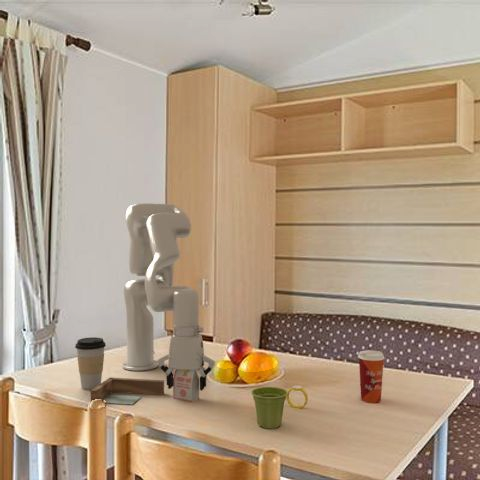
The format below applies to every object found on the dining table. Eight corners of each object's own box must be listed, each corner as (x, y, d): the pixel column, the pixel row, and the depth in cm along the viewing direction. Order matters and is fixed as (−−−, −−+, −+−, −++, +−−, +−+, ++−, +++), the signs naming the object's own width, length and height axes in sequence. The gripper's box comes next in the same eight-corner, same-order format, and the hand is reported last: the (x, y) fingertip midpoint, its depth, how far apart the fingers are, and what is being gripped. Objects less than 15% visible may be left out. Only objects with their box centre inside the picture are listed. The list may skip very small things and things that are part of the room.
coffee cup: (98, 392, 173) (97, 343, 173) (69, 390, 175) (69, 342, 175) (111, 383, 183) (110, 337, 182) (84, 381, 185) (83, 336, 184)
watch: (308, 408, 160) (309, 387, 159) (305, 411, 157) (306, 390, 157) (288, 403, 162) (289, 383, 162) (284, 406, 160) (286, 386, 159)
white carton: (180, 395, 171) (180, 362, 170) (199, 398, 167) (199, 365, 167) (173, 398, 167) (173, 365, 167) (191, 402, 164) (191, 368, 164)
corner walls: (109, 390, 175) (109, 377, 175) (164, 393, 172) (164, 380, 172) (90, 404, 162) (90, 390, 162) (149, 407, 159) (149, 393, 159)
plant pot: (249, 419, 150) (249, 386, 150) (284, 417, 151) (284, 385, 151) (253, 432, 141) (253, 398, 140) (290, 431, 142) (290, 396, 141)
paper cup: (369, 405, 161) (369, 357, 160) (352, 398, 167) (352, 351, 167) (390, 401, 164) (390, 354, 164) (372, 394, 171) (373, 348, 170)
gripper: (217, 329, 169) (217, 386, 169) (161, 327, 172) (162, 383, 172) (211, 334, 161) (212, 393, 162) (153, 332, 164) (154, 390, 165)
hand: (186, 388), depth 167 cm, fingers open, 9 cm apart
